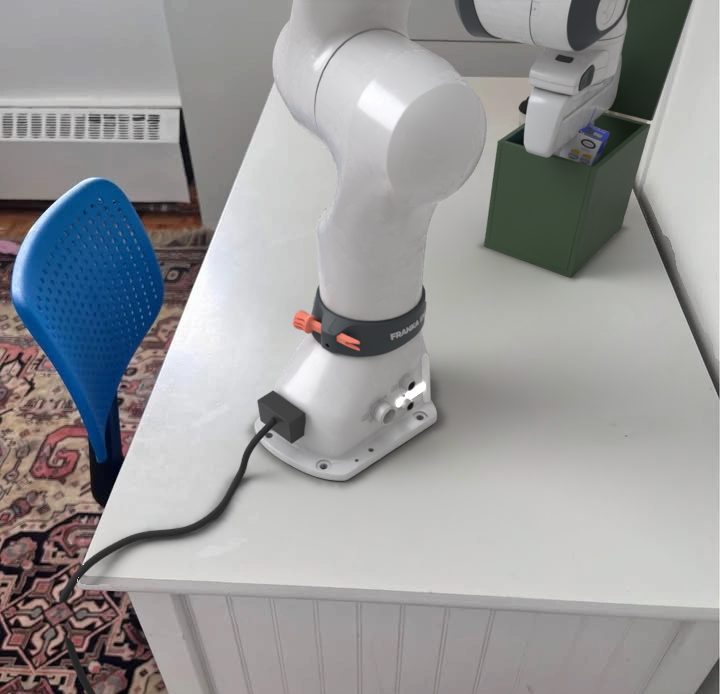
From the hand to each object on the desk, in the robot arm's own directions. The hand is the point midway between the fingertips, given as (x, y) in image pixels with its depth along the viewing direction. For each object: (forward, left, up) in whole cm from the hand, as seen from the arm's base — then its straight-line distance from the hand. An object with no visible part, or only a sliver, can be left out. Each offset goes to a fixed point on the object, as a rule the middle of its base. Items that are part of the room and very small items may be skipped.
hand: (564, 162), depth 101 cm
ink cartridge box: (-2, +2, -7) cm, 7 cm away
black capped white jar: (+25, +16, -13) cm, 32 cm away
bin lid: (+13, 0, +13) cm, 18 cm away
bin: (+3, 0, -13) cm, 13 cm away
